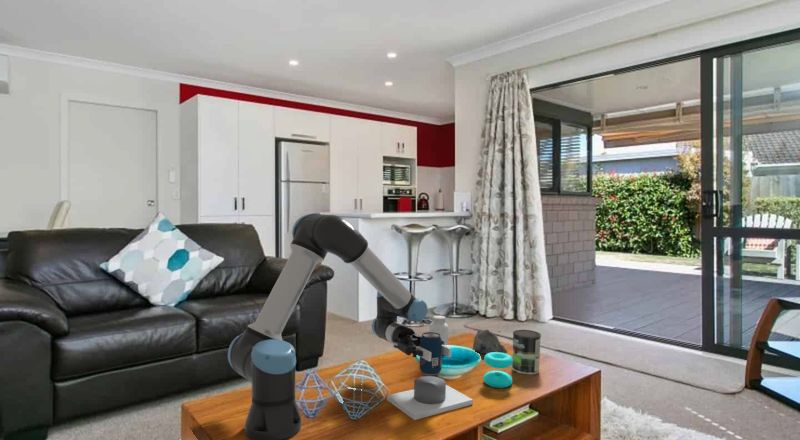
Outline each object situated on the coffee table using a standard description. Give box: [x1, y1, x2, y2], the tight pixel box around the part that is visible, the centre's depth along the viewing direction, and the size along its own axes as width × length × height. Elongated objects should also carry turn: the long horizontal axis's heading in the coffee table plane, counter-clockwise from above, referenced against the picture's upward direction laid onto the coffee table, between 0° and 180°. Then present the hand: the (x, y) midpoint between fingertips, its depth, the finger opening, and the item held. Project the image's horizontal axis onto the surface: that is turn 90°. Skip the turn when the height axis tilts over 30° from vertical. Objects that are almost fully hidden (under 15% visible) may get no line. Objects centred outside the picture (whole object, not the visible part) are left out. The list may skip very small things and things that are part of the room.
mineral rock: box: [472, 329, 508, 355], centre depth 202 cm, size 13×11×10 cm
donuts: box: [483, 352, 513, 389], centre depth 170 cm, size 10×10×10 cm
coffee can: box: [511, 329, 542, 375], centre depth 184 cm, size 10×10×14 cm
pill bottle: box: [428, 315, 449, 346], centre depth 203 cm, size 8×8×15 cm
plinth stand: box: [386, 375, 474, 421], centre depth 154 cm, size 22×16×6 cm
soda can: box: [419, 331, 443, 376], centre depth 153 cm, size 7×7×12 cm
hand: (440, 354), depth 149 cm, fingers closed on soda can, 7 cm apart
